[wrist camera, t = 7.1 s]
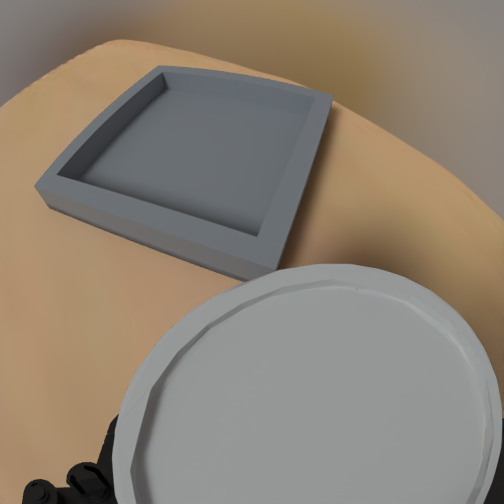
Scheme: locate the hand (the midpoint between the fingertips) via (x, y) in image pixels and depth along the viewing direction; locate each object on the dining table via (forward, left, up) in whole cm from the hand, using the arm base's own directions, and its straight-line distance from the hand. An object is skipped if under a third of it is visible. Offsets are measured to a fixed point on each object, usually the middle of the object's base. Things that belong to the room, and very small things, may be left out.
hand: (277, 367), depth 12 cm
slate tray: (+12, -15, -4) cm, 19 cm away
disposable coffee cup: (-1, +3, -4) cm, 5 cm away
